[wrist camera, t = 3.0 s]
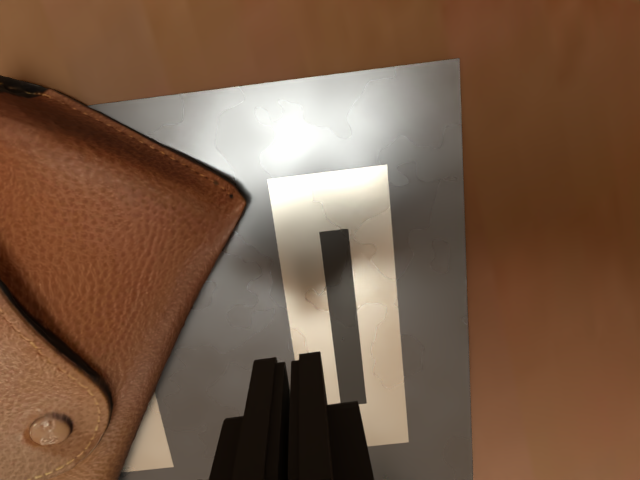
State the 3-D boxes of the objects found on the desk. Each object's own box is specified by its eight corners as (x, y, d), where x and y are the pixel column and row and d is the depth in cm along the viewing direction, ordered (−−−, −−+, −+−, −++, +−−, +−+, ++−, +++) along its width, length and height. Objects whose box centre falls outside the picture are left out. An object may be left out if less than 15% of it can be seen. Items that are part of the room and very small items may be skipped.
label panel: (457, 59, 14) (459, 58, 13) (471, 492, 18) (473, 496, 18) (-155, 137, 14) (-162, 137, 14) (7, 539, 19) (3, 544, 18)
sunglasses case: (101, 574, 18) (-113, 741, 12) (16, 461, 21) (-191, 553, 15) (261, 182, 14) (48, 149, 8) (127, 106, 17) (-103, 40, 11)
